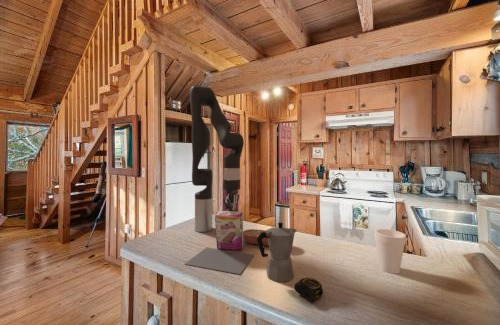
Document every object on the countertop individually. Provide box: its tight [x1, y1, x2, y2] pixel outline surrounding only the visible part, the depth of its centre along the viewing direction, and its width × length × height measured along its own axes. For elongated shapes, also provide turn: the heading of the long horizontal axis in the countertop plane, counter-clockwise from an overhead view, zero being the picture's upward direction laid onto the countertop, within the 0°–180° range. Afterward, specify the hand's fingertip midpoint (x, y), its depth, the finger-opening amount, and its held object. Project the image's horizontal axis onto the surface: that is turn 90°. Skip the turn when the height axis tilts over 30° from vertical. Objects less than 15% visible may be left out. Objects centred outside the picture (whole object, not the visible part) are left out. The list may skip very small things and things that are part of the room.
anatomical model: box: [243, 228, 269, 247], centre depth 103 cm, size 23×10×5 cm, turn 67°
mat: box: [184, 246, 255, 276], centre depth 88 cm, size 16×22×1 cm
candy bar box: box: [214, 210, 245, 251], centre depth 97 cm, size 11×5×16 cm, turn 84°
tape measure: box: [294, 277, 323, 303], centre depth 66 cm, size 7×7×4 cm
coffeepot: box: [257, 221, 297, 283], centre depth 76 cm, size 15×9×18 cm, turn 116°
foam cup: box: [374, 228, 407, 274], centre depth 81 cm, size 10×9×13 cm
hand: (231, 217), depth 99 cm, fingers closed
